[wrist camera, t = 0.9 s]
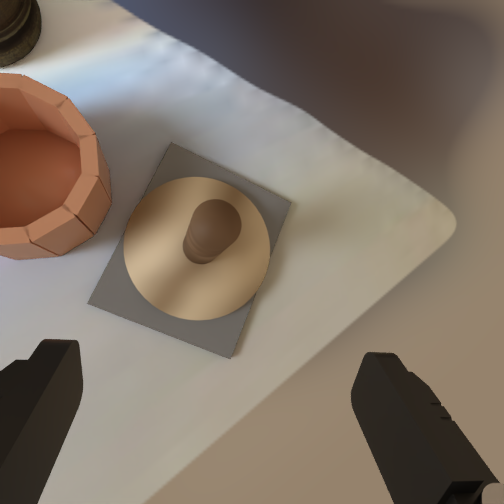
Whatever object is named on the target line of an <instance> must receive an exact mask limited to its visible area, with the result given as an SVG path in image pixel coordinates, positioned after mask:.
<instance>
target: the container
mask: <svg viewBox="0 0 504 504" xmlns="http://www.w3.org/2000/svg"><path fill="white" fill-rule="evenodd" d="M40 32H41V15H40V9H39V6H38V3H37V1H36V0H0V67H2V66H6V65H9V64H12V63H13V62H16V61H18V60H20V59H21V58H23V57H24V56H25V55H27V54H28V53H29V52H30V51H31V50H32V49H33V47H34V46H35V44H36V42H37V40H38V38H39V35H40Z"/></svg>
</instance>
